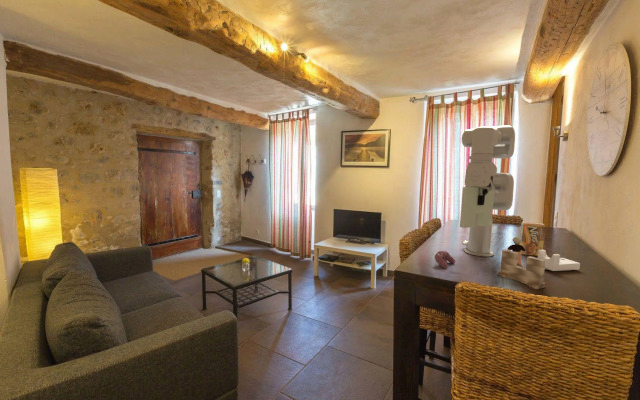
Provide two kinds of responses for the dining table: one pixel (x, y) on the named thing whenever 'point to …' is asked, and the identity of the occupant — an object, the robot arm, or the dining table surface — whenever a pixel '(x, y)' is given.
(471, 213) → the sage plate
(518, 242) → the grandmother figurine
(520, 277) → the birch stand
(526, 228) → the candy box
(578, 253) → the dining table surface
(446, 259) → the video game controller
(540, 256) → the bracket
